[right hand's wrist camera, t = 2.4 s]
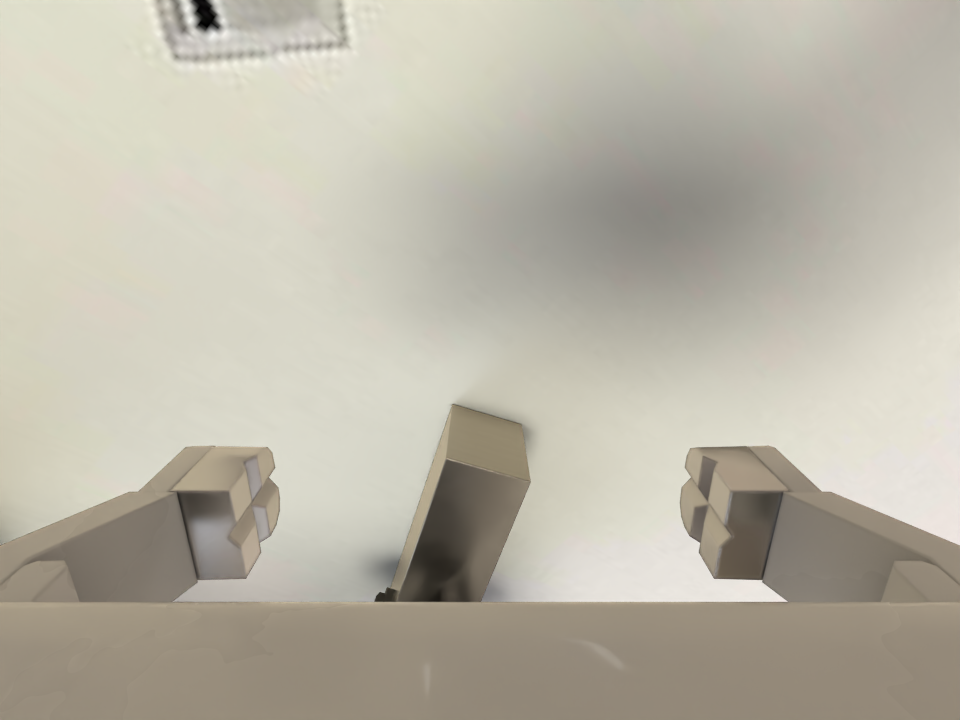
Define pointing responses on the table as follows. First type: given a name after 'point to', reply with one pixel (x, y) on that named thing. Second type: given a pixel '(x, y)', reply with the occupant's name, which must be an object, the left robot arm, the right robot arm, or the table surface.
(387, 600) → the left robot arm
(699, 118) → the table surface
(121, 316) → the table surface
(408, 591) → the box
